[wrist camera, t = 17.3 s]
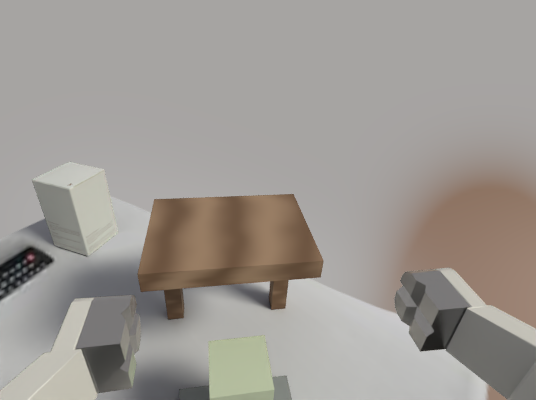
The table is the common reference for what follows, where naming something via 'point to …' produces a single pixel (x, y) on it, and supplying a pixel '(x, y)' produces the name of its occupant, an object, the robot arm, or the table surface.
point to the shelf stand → (226, 246)
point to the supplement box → (77, 207)
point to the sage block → (240, 369)
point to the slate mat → (200, 396)
